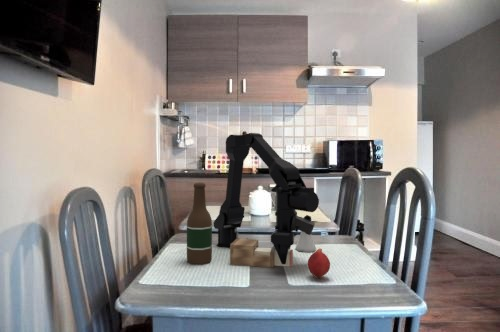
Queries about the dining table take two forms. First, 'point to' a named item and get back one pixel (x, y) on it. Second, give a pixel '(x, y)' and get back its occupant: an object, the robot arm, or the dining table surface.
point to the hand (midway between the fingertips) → (285, 259)
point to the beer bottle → (199, 229)
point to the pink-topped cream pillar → (275, 256)
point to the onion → (318, 263)
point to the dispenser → (249, 254)
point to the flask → (305, 243)
